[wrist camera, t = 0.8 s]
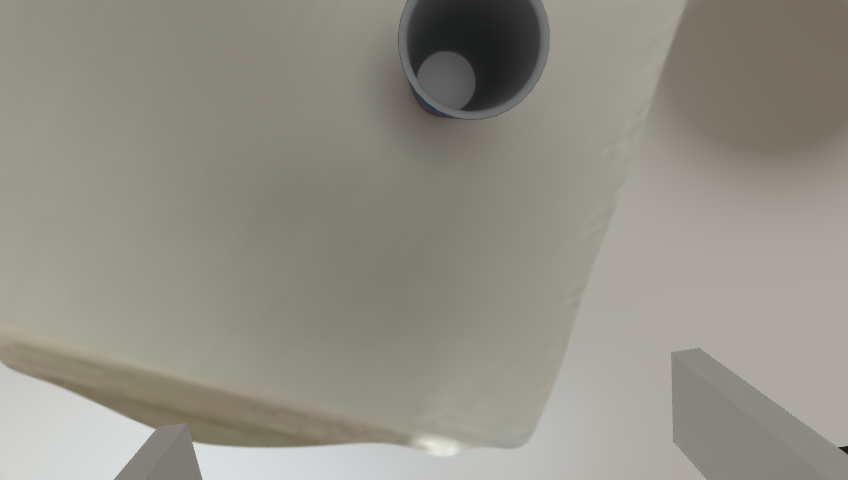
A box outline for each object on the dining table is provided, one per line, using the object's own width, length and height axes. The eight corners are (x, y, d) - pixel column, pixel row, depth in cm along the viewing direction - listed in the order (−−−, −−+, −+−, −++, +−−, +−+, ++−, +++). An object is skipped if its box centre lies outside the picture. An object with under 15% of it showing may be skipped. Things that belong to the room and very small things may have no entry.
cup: (464, 144, 37) (504, 146, 22) (385, 103, 36) (371, 75, 21) (506, 62, 36) (578, 6, 21) (426, 18, 35) (442, -75, 20)
